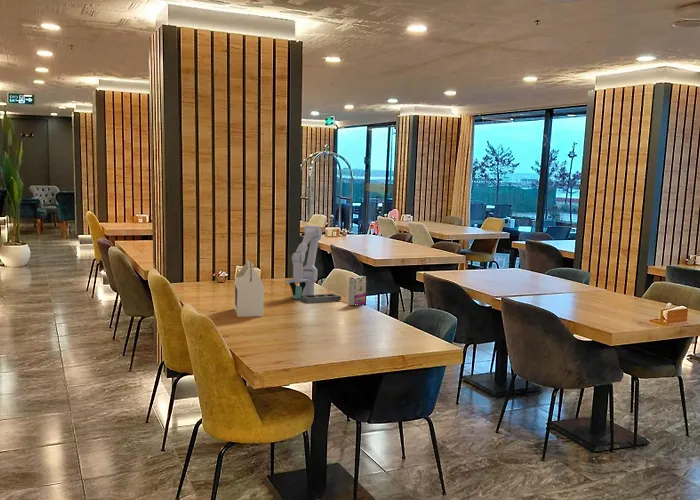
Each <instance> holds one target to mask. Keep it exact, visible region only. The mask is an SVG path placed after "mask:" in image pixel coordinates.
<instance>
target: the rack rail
mask: <svg viewBox="0 0 700 500" xmlns="http://www.w3.org/2000/svg"><path fill="white" fill-rule="evenodd" d="M315 294H316V295H301V298H300V301H301V300H302V302H303V301H304V303H306V304H315V303H314V302H319V303H326V302H325V301H335V302H340V301H339V300H342V296H341V295H340V294H336V293H320V294H317V293H315Z"/></svg>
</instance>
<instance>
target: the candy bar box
mask: <svg viewBox="0 0 700 500" xmlns="http://www.w3.org/2000/svg"><path fill="white" fill-rule="evenodd" d="M366 300H367V276H364V275H359V276H353V277H352V276H351V277H349V278H348V305H349V304H351V305H355V304H356V305H357V304H358V306H361V305H366V303H367V301H366Z"/></svg>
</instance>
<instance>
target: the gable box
mask: <svg viewBox="0 0 700 500" xmlns="http://www.w3.org/2000/svg"><path fill="white" fill-rule="evenodd" d="M254 266H255V264H254V263H253V261H251V260H250V259H248V258H247V260H246V264H243V266H242V267H241V268H240V271H239V272H238V273H237V275H236V276H235V277H234V306H233V308H234V311H235V314H236V316H237V318H239V317H240V318H241V317H242V318H243V317H245V318H246V317H248V318H249V317H264V289H265V288H264V287H265V285H264V282H263V281H262V279H261V278H260V276H259V275H258V273H257V271H256V270H255V268H254Z"/></svg>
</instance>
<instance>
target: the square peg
mask: <svg viewBox="0 0 700 500" xmlns="http://www.w3.org/2000/svg"><path fill="white" fill-rule="evenodd" d="M301 295H302V287H301V286H299V285H296V288H295V295H293V294H292V298H293V299H295V300H296V299H297V300H298V299H301Z"/></svg>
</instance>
